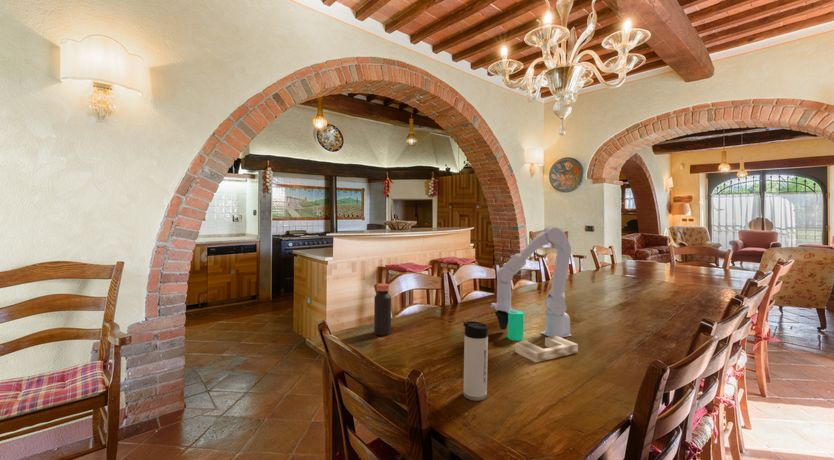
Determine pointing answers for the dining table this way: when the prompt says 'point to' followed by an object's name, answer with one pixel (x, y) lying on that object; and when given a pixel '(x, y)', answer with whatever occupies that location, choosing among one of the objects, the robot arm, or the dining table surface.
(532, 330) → the dining table surface
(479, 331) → the travel mug
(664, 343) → the dining table surface
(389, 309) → the bottle
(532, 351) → the cream flat frame
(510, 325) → the green prism block
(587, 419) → the dining table surface
